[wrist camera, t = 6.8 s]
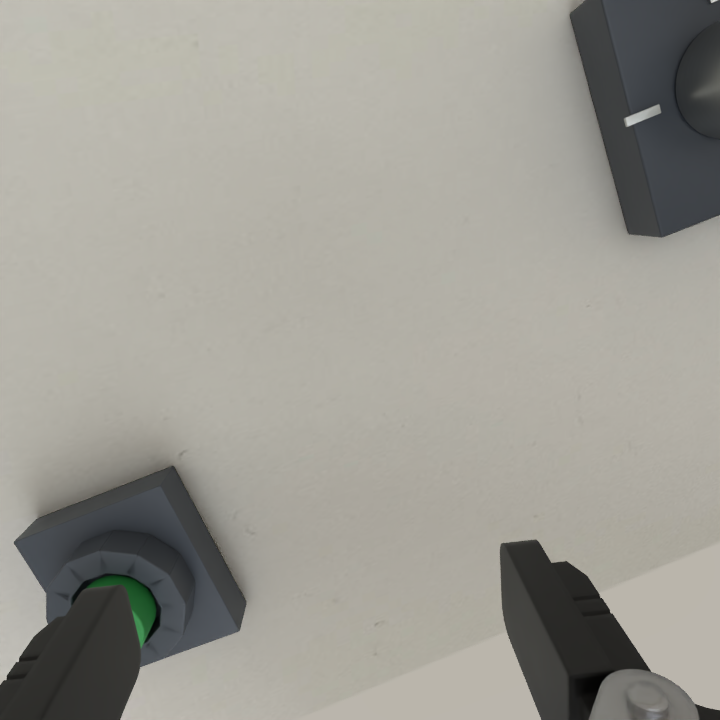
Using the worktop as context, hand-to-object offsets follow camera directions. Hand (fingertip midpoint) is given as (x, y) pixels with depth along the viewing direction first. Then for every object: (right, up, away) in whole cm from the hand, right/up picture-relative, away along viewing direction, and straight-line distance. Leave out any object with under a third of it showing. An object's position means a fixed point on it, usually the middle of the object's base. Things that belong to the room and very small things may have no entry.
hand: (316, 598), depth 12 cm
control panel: (+15, +17, +13) cm, 26 cm away
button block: (-11, -6, +19) cm, 22 cm away
